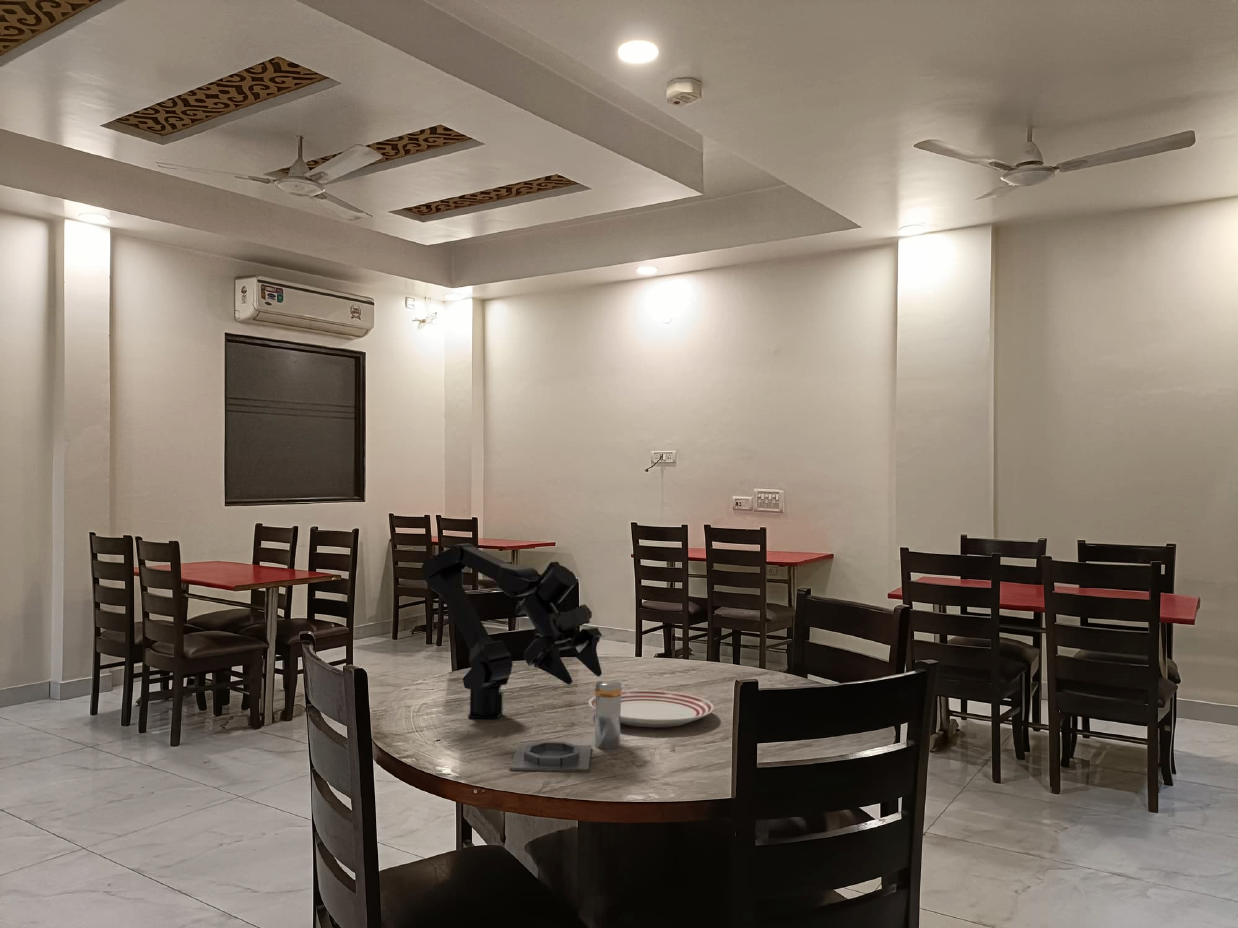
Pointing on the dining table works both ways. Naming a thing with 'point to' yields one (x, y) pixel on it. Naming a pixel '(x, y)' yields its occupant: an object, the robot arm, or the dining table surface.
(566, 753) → the flange
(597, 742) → the grey cylindrical piece
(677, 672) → the dining table surface
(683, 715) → the dinner plate
